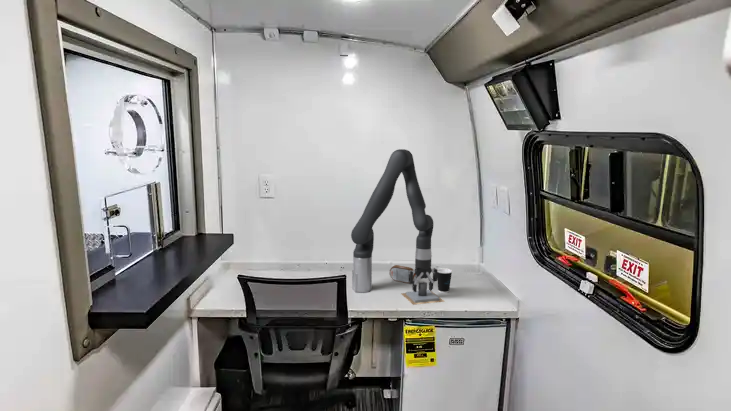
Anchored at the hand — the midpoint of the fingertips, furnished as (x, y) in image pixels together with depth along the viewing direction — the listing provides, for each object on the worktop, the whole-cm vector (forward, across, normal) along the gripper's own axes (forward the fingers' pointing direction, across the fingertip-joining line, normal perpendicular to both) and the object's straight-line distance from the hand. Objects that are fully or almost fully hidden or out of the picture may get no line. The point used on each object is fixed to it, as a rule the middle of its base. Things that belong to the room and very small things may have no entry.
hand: (422, 290), depth 221 cm
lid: (+3, 0, 0) cm, 3 cm away
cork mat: (+4, 0, 0) cm, 4 cm away
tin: (+4, 0, -27) cm, 27 cm away
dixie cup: (+4, -14, -6) cm, 16 cm away
